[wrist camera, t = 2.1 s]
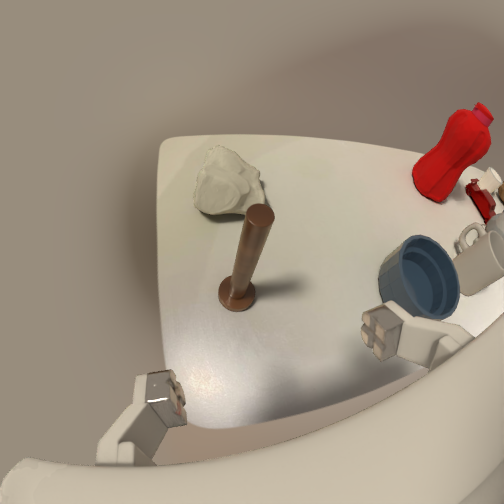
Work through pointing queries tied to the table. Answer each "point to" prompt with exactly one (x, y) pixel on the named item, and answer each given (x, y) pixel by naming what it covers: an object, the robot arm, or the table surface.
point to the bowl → (501, 191)
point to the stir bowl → (420, 279)
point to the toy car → (482, 199)
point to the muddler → (246, 258)
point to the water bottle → (453, 152)
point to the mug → (479, 260)
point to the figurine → (495, 225)
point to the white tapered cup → (490, 180)
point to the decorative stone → (227, 184)
